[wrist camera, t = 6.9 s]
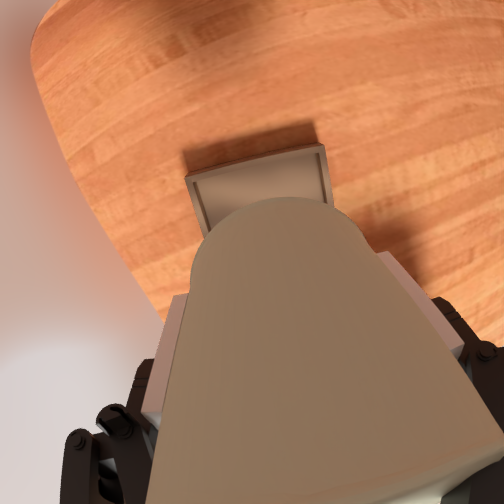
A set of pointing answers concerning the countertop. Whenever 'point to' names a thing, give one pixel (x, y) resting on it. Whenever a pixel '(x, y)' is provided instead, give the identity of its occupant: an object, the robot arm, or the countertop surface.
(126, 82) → the countertop surface
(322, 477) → the can
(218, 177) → the tray
